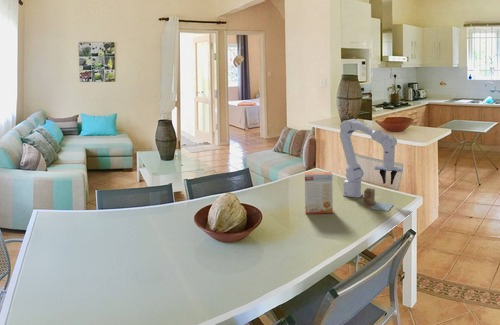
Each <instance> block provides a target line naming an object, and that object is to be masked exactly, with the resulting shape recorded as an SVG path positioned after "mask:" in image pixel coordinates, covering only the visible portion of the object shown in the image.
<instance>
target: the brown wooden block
mask: <svg viewBox="0 0 500 325" xmlns="http://www.w3.org/2000/svg"><path fill="white" fill-rule="evenodd" d="M375 191H376V189H375V188H368V187H367V188H366V189H365V190H364V191H363V207H367V208H372V207H373V206H374V205H375V203H376V202H375V200H376V198H375V197H376V196H375V194H376V192H375Z"/></svg>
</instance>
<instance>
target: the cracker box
mask: <svg viewBox="0 0 500 325" xmlns="http://www.w3.org/2000/svg"><path fill="white" fill-rule="evenodd" d="M333 200H334V199H333V172H332V171H315V172H312V171H311V172H309V171H308V172H304V209H305V214H333V213H334V210H333V203H334V202H333Z"/></svg>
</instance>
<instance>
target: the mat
mask: <svg viewBox="0 0 500 325" xmlns="http://www.w3.org/2000/svg"><path fill="white" fill-rule="evenodd" d="M393 206H395V204H394V203H389V202H380V201H377V202H374V205H373V206H372V207H370V210H373V211H384V212H389V211H390V210H391V209H392V207H393Z"/></svg>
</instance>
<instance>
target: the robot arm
mask: <svg viewBox="0 0 500 325" xmlns="http://www.w3.org/2000/svg"><path fill="white" fill-rule="evenodd" d="M339 128H340V132H339V138H340V142H341V145H342V149H343V152H344V157H345V161H346V168H345V171H346V173H345V177H346V178H345V180H344V182H343V195H342V196H343V197H350V198H359V199H360V198H361V197H362V196H364V192H363V193H362V178H363V177H364V175H365V174H364V173H365V172H364V170H363V169H362V166H361V165H360V164H359V163H358V161H357V158H356V154H355V150H354V146H353V143H352V138H351V136H352V135H353V133H354V132H355V131H359V132H362V133H364V134H366V135H368V136H370V138H371V140H373V141H375V142H376V143H378V144H380V145H381V147H382V148H383V149H382V150H383V151H382V152H383V155H382V157H383V158H382V160H383V162H382V165H375V166H374V170H375V171H379V175H380V176H381V178H382V183H383V185H385V184H386V183H387V182H386V180H387V179H386V177H387V171H388V172H390V185H392V186H393V184H394V180H395V177H396V176H397V173H398V172H399V173H403V171H404V168H403V167H398V166H395V153H396V152H395V151H396V150H395V149H396V148H395V147H396V146H397V143H398V140H397V139H396V137H395V136H393V135H389V134H387V133H384V132H382V130H381V129H375V130H374V129H372V128H371V127H369V126H367V125H366V124H365V123H363V122H362V121H360V120H358V119H356V118H352V119H346V120H343V121H342V122H341V124H340V125H339Z"/></svg>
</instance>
